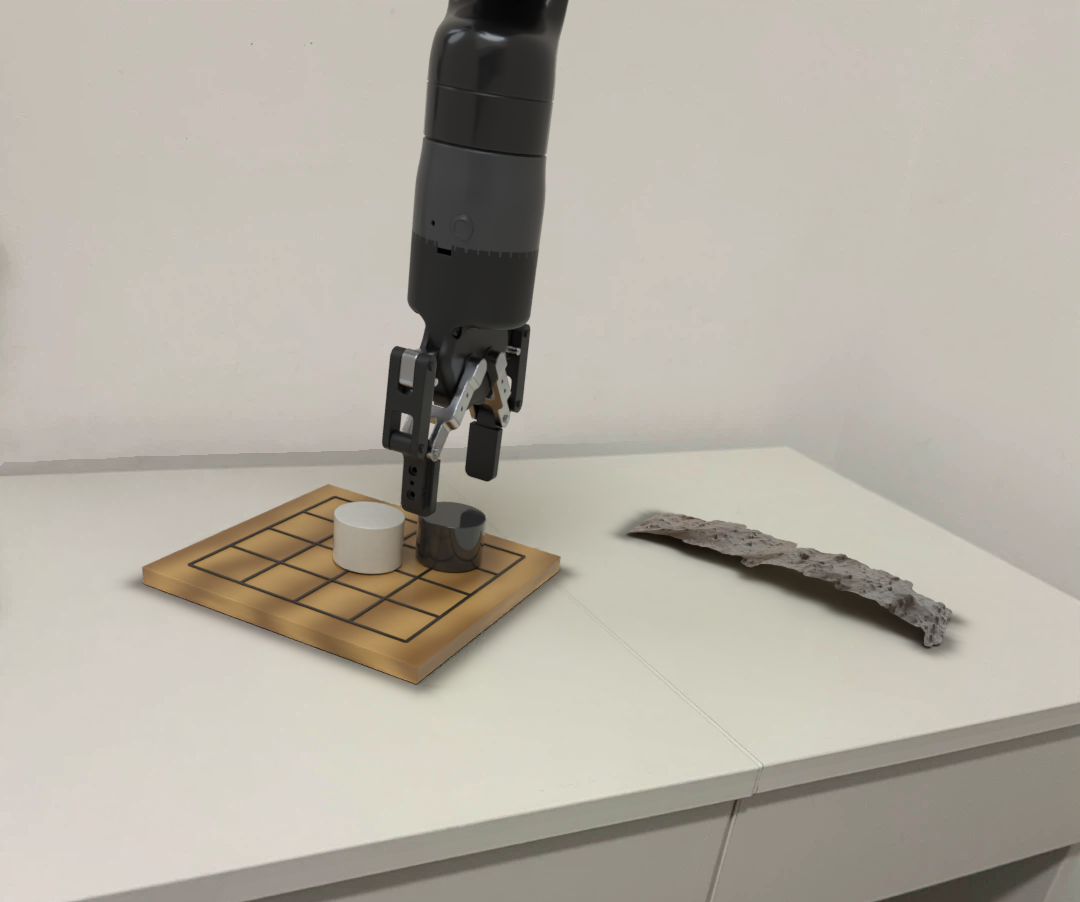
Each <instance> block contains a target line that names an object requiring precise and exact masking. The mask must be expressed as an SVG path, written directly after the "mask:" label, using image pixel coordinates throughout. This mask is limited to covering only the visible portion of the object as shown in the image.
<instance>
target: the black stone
mask: <svg viewBox="0 0 1080 902" xmlns="http://www.w3.org/2000/svg"><path fill="white" fill-rule="evenodd" d="M486 525H487V515H486V514H485V513H484V511H482V510H480V509H479V508H477V507H474V506H472V505H469V504H465V503H462V502H455V501H437V504H436V511H435V512H434V513H433V514H431V515H430V516H428V517H422V516H419V515H418V519H417V533H416V547H415V557H416V559H417V560H418V561H419V562H420V563H421V564H423V565H425V566H427V567H430V568H432V569H436V570H440V571H447V572H463V571H469V570H473V569H475V568H477V567H478V566H479V565H480V564H481V562H482V554H483V545H484V536H485V533H486Z"/></svg>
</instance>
